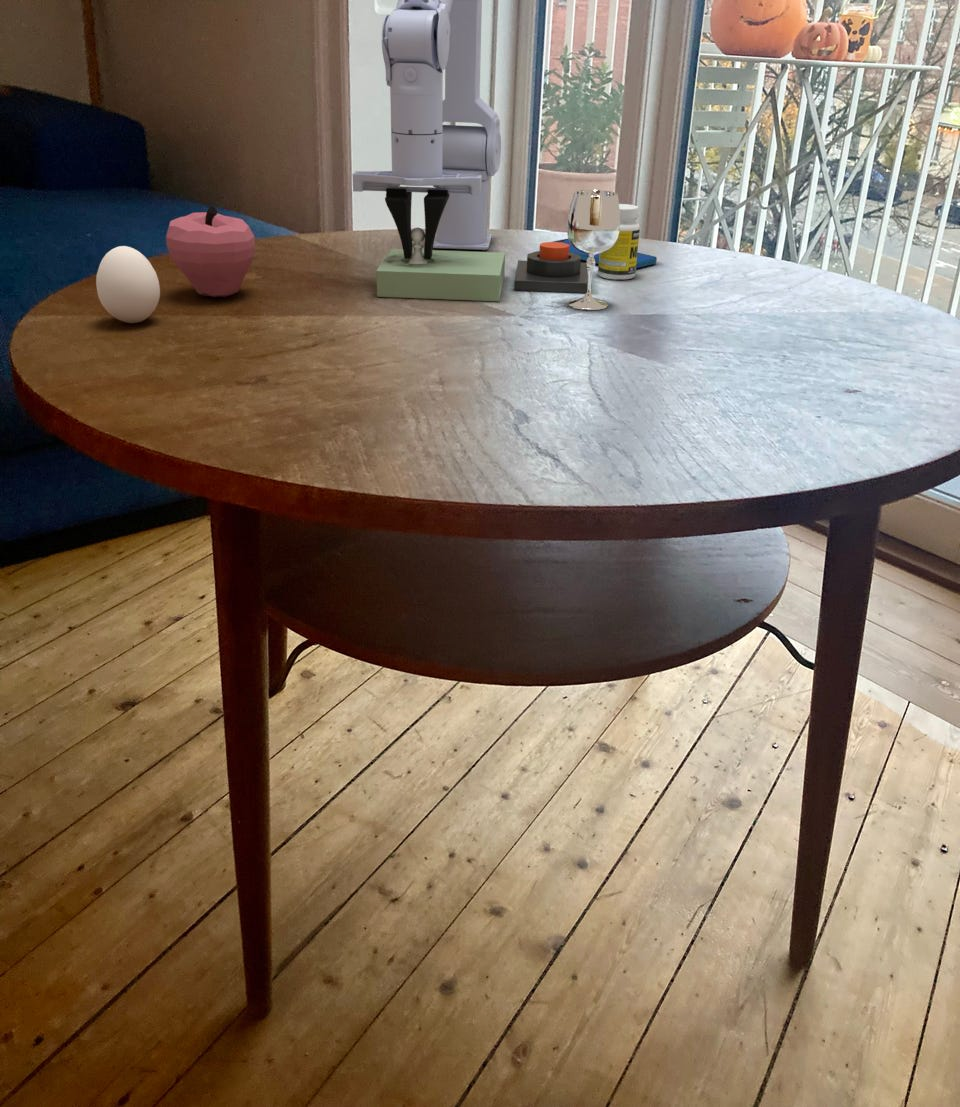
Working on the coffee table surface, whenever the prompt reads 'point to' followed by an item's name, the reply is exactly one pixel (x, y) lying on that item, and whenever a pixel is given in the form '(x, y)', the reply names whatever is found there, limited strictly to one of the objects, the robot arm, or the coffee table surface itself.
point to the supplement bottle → (622, 247)
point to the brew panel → (551, 274)
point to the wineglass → (592, 233)
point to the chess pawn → (417, 246)
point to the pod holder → (443, 276)
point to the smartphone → (641, 258)
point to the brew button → (554, 251)
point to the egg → (127, 285)
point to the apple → (211, 251)
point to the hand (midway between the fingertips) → (418, 257)
